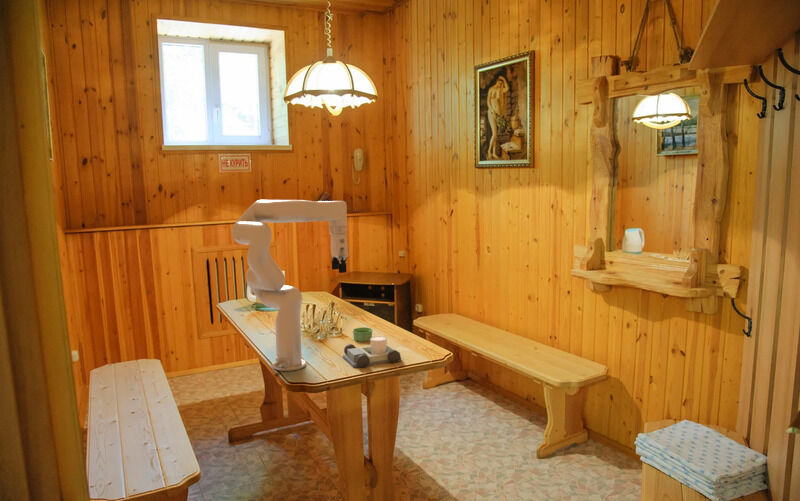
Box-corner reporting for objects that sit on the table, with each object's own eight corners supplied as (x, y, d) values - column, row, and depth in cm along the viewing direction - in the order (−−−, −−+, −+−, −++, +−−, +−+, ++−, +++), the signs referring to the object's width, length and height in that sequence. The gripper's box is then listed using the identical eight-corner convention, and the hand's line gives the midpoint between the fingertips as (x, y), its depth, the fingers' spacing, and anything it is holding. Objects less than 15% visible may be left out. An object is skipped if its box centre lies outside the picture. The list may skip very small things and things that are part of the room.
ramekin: (359, 343, 244) (359, 333, 243) (349, 338, 251) (348, 329, 251) (376, 339, 249) (376, 330, 249) (365, 335, 256) (365, 326, 256)
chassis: (355, 369, 211) (354, 357, 210) (341, 356, 226) (341, 345, 225) (403, 361, 219) (402, 349, 218) (386, 349, 234) (386, 338, 233)
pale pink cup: (385, 358, 219) (385, 341, 218) (368, 357, 221) (368, 340, 220) (389, 353, 226) (388, 336, 225) (372, 352, 227) (372, 335, 226)
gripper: (353, 231, 225) (354, 273, 228) (340, 228, 241) (341, 267, 243) (335, 232, 222) (336, 274, 225) (323, 229, 238) (324, 268, 240)
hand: (339, 270), depth 234 cm, fingers open, 9 cm apart
